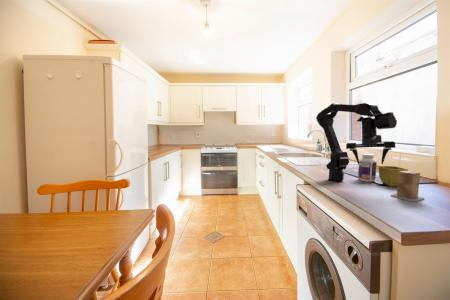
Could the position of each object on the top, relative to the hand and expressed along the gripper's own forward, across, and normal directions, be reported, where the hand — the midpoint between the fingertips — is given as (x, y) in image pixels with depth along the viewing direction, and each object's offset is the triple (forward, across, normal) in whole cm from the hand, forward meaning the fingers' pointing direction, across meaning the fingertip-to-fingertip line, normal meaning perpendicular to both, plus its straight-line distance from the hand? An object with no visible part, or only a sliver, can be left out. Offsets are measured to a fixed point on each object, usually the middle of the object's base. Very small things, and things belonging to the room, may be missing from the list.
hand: (370, 164), depth 103 cm
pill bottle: (+11, -2, +20) cm, 23 cm away
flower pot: (+12, +9, +16) cm, 22 cm away
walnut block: (+13, +12, -7) cm, 19 cm away
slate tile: (+13, +12, -6) cm, 19 cm away
